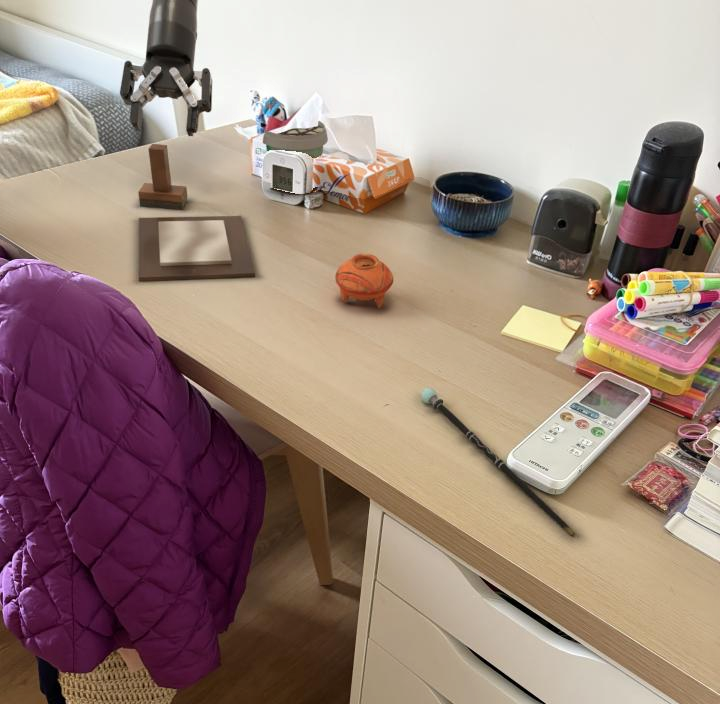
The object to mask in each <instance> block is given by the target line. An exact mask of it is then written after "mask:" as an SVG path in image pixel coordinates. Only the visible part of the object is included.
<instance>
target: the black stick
mask: <svg viewBox="0 0 720 704" xmlns="http://www.w3.org/2000/svg"><path fill="white" fill-rule="evenodd" d="M421 400H422V401H423V403H425V404H428V405H432V409H433V410H434V411H435V410H439V412H440V413H442V415H443V416H444V417H445V418H447V420H448V421H449V422H451V424H453V425H454V426H455V427H456V428H457V429H458V431H460V432H461V433H462V434H464V435H465V437H466V439H468V440H469V441H470V442H471V443H473V444H474V445H475V446H476V448H477V449H478V450H480V451H482V452H483V453H484V455H485V456H486V457H487V458H488V459H490V460H491V461H492V462H493V464H494V466H495V467H497V469H498V470H501V471H502V472H503V473H504V474H506V475H507V476H508V477H509V478H510V479H511V480H512V481H513V482H514V483H515V484H516V485H517V486H518V487H519V488H520V489H521V490H522V491H523V492H524V493H525V494H526V495H527V496H529V497H530V498H531V499H532V501H534V502H535V503H536V504H537V505H538V506H539V507H540V508H541V509H542V510H543V511H544V512H546V514H547V515H549V517H551V518H552V519H553V520H554V522H556V523H557V524H558V525H559V526H560V528H562V529H563V530H564V531H565V532H567V533H568V534H569V535H570V536H572V537H574V536H575V535H576V532H575V531H574V530H573V528H571V526H569V524H567V522H565V521H564V520H563V519H562V518H561V517H560V516H559V515H558V514H557V513H556V512H555V511H554V510H553V509H552V508H551V507H550V506H549V505H548V504H547V503H546V502H545V501H543V500H542V499H541V497H540V496H538V495H537V494H536V493H535V492H534V491H533V490H532V489H531V488H530V487H529V486H528V485H527V484H526V483H525V482H524V481H523V480H522V479H521V478H520V477H518V475H517V474H516V473H515V472H513V470H512V469H510V467H509V466H507V465H506V463H505V462H504V460H503V459H502V458H500V457H499V456H498V455H497V454H496V453H494V452H492V451H491V449H490V448H489V447H488V446H486V445H485V444H484V443H483V441H482V440H481V439H480V438H478V436H477V435H476V434H475V433H474V432H473V431H472V430H470V429H469V428H468V427H467V426H466V425H465V424H464V423H463V422H462V421H461V420H460V419H459V418H458V417H457V416H456V415H455V414H454V413H452V411H450V410H449V408H447V407H446V406H445V405H444V399H442V398H438V393H437V392H436V390H435V389H433V388H431V387H427V388H424V389H423V390H422V391H421Z"/></svg>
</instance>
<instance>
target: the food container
mask: <svg viewBox="0 0 720 704" xmlns="http://www.w3.org/2000/svg"><path fill="white" fill-rule="evenodd" d="M328 140H329V139H328V131H327V129H326V125H325V124H324V123H323V122H322V121H321V120H318V121H317V126H312V127H307V128H306V127H305V128H301V127H294V128H290V129H287V130H284V131H282V132H279V133H276V132H272V131H269V130H267V129H264V133H263V137H262V144H264V145H265V147H266V149H265V150H266V152H267V151H269V150H285V151H296V152H302V153H306V154H308V155H309V156H311V157H312V158H317V157H319V156H321V155H322V156H323V154H324V153H323V151H324V146H325V145H326V144H328ZM270 190H272V191H274V192H275V193H280V194H284V195H293V196H300V194H295V193H290V192H285V191H282V190H277V189H274V188H270ZM317 190H319V187H315V188H313V190H312V191H311V192H310V193H308V194H312V193H314V192H316V191H317ZM308 194H307V195H308Z"/></svg>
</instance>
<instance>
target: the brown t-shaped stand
mask: <svg viewBox="0 0 720 704" xmlns="http://www.w3.org/2000/svg"><path fill="white" fill-rule="evenodd" d="M148 157H149V158H148V159H149V166H150V173H151V174H150V175H151V180H152V182H143V184H142V186H141V187H140V188H139V190H138V191H137V193H138V201H139V206H140V207H147V208H156V209H157V208H158V209H170V210H181V211H182V210H184V208H185V206H186V205H187V202H188V201H189V198H188V187H187V186H186V185H175V184H172V179H171V170H170V160H169V152H168V145H167V144H160V143H151V145H150V146H149V147H148Z"/></svg>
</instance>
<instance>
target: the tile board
mask: <svg viewBox="0 0 720 704" xmlns="http://www.w3.org/2000/svg"><path fill="white" fill-rule="evenodd" d="M251 255H252V254H251V251H250V247H249V243H248V238H247V234H246V231H245V226H244V222H243V219H242V215H220V216H219V215H214V216H213V215H212V216H211V215H210V216H206V215H205V216H163V217H162V216H159V217H156V216H155V217H138V281H139V282H147V281H149V282H150V281H151V282H152V281H175V280H176V281H177V280H180V281H181V280H201V279H204V280H205V279H229V278H232V279H233V278H254V277H256V271H255V268H254V263H253V259H252V256H251Z"/></svg>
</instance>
